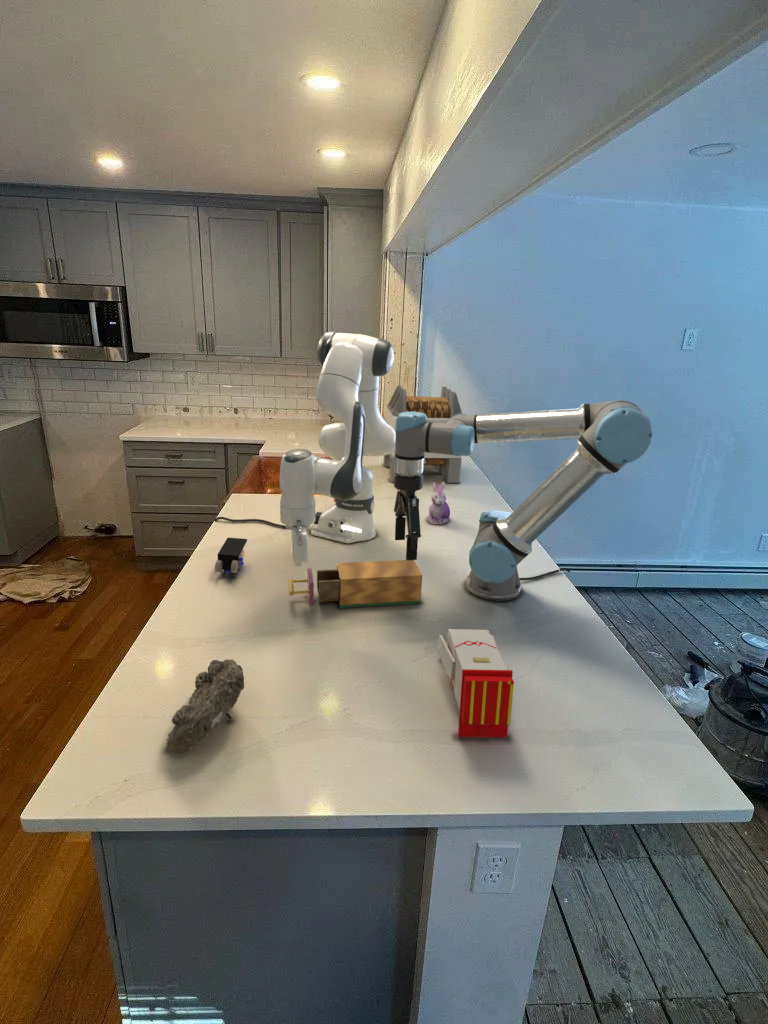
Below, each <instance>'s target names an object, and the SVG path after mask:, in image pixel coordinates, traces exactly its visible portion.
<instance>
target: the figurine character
mask: <svg viewBox="0 0 768 1024" xmlns="http://www.w3.org/2000/svg"><path fill="white" fill-rule="evenodd" d="M247 542H248V538H240V537H226V539H225V541H224V543H223V544H222V546H221V547H220V549H219V551H218V552H217V560H216V562H215V564H214V572H215V573H221V577H222V578H224V577H225V576H226V574H227V573H230V574H231V573H232V574H231V578H234V577H235V575H236V573H237V572H239V571H240V567H242V566H243V565H244V564H245V562H244V558H245V551H244V547H245V546H246V544H247Z"/></svg>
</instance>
